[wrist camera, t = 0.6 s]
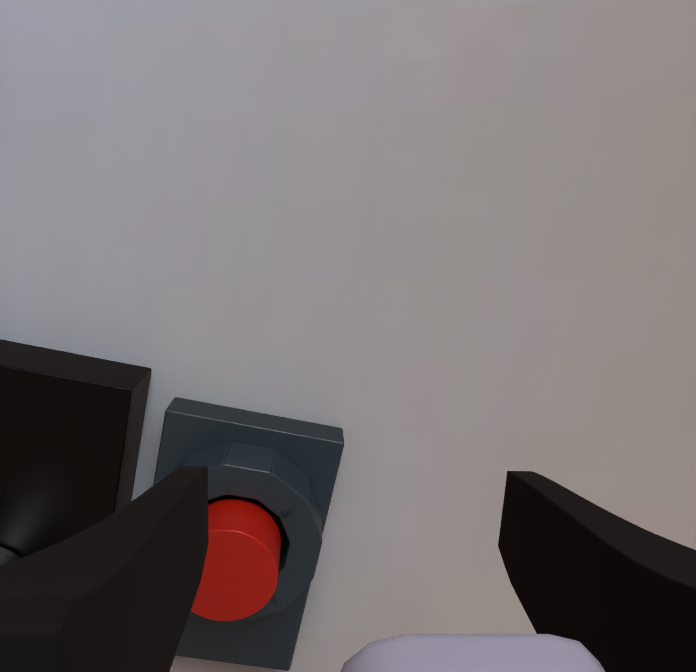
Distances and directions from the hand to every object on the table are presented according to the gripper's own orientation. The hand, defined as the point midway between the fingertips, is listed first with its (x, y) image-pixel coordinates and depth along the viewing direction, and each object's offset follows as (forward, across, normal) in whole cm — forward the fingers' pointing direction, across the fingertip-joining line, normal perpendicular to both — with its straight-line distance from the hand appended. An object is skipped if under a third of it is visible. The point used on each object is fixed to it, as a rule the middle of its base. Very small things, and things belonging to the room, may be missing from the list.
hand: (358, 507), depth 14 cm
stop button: (+7, +4, +6) cm, 10 cm away
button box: (+10, +4, +7) cm, 13 cm away
